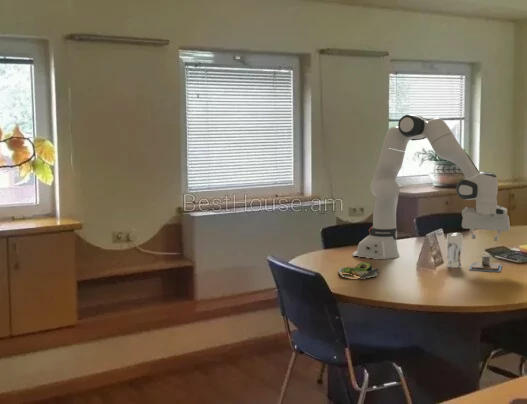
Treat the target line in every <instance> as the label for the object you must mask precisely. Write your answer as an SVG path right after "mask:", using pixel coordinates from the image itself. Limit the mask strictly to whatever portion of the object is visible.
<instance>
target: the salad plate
mask: <svg viewBox="0 0 527 404" xmlns="http://www.w3.org/2000/svg"><path fill="white" fill-rule="evenodd" d="M379 270H380V269H379V268H373V267H372V263H370V262H367V261H365V262H360V263H358V264H357V266H355V267H349V266H346V267H342V268H339V270H338V275H339V274H340V272H342V273H349V274H352V275H356V276H359V277H360V278H362V279H363V280H365V279H364V278H369V277H374V278H376V277H377V276H378V273H377V272H378V271H379ZM340 275H341V274H340ZM340 275H339V276H340ZM341 276H344V277H350V276H349V275H341ZM341 276H340V277H341ZM375 276H376V277H375Z"/></svg>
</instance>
